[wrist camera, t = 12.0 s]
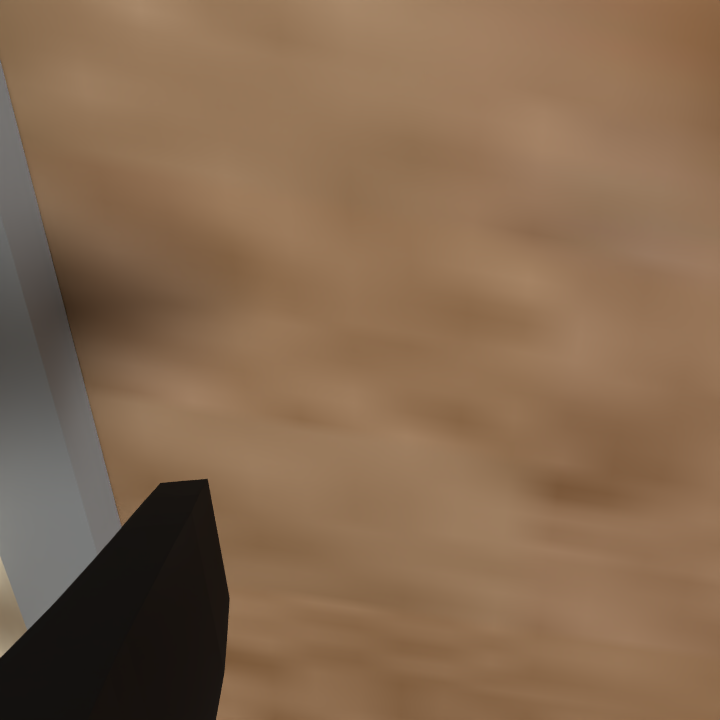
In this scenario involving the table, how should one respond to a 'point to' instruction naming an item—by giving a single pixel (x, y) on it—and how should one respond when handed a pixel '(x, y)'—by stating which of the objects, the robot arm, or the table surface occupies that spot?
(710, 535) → the table surface
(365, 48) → the table surface
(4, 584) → the beige bar
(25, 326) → the loading dock
